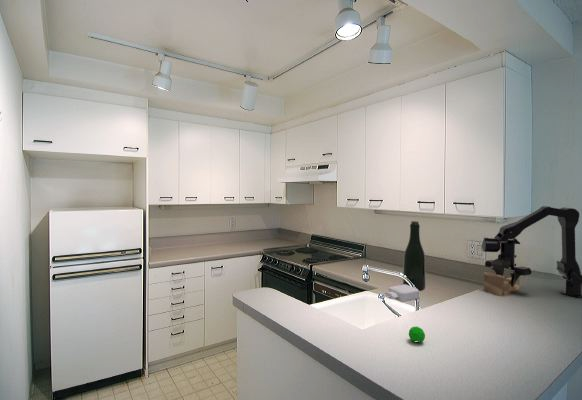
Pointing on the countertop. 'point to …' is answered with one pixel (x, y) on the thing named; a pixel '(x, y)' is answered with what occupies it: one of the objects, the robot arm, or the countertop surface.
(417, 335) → the green ball
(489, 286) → the notched wooden block
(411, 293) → the charger
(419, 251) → the dark wine bottle
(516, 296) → the countertop surface
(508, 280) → the oak rail
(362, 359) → the countertop surface
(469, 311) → the countertop surface
